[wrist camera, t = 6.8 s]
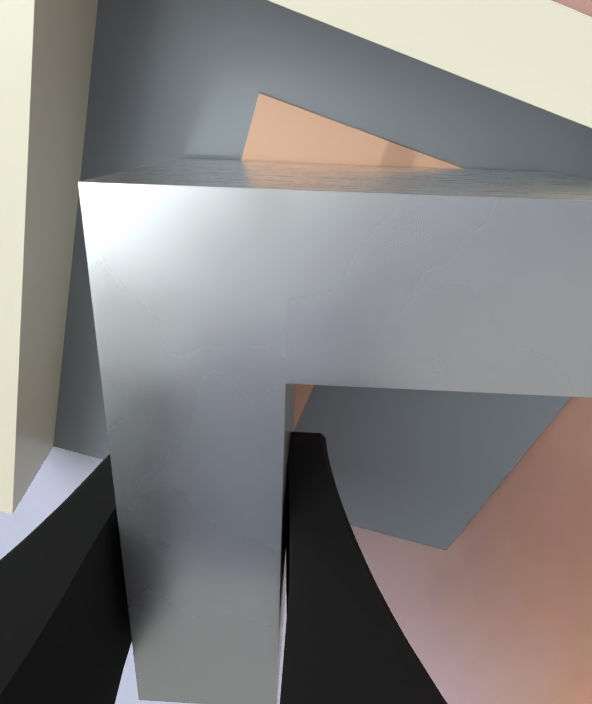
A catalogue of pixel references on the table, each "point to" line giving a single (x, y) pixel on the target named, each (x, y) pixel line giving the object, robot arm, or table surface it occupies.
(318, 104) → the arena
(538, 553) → the table surface
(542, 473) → the table surface
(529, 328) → the bracket
